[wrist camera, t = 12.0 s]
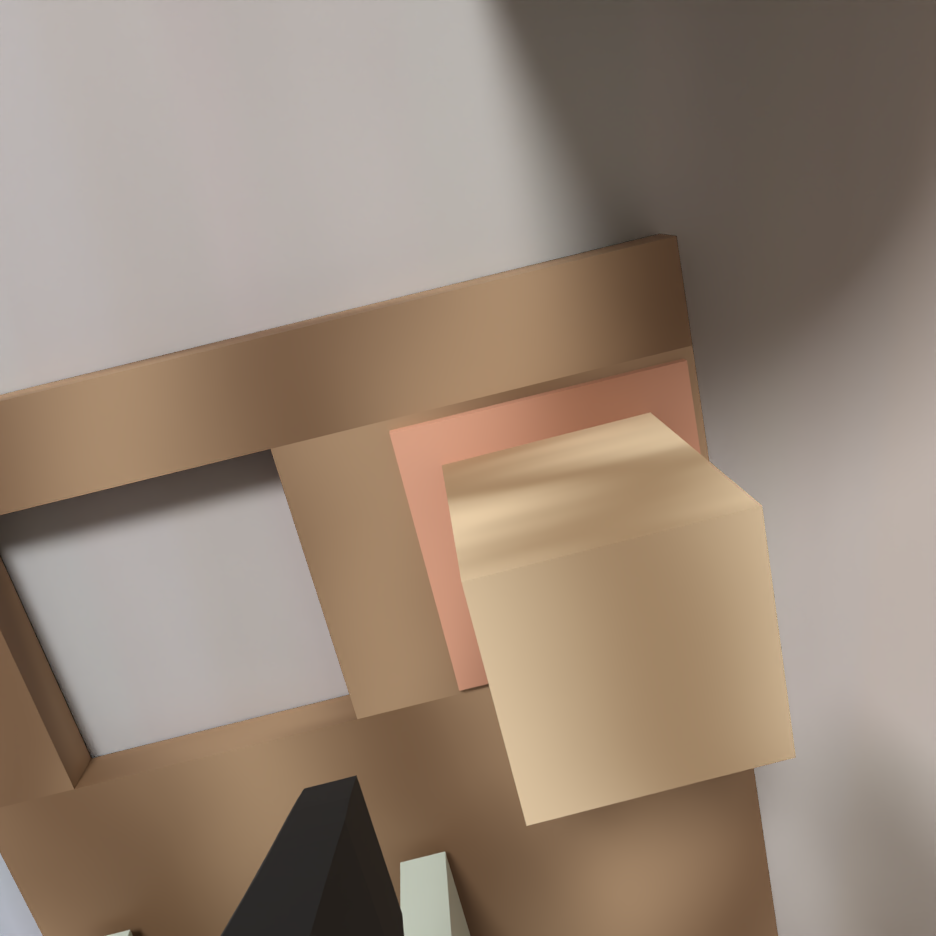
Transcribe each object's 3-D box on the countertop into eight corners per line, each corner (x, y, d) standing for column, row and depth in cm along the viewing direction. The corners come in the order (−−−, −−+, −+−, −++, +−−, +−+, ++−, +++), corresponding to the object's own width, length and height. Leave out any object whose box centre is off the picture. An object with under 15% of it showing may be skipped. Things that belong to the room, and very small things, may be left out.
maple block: (489, 648, 17) (527, 825, 12) (442, 465, 16) (461, 582, 11) (683, 599, 17) (795, 757, 12) (650, 412, 16) (761, 505, 11)
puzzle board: (184, 1149, 22) (172, 1201, 21) (-170, 436, 16) (-214, 454, 14) (775, 1000, 22) (796, 1044, 21) (659, 234, 16) (680, 236, 15)
